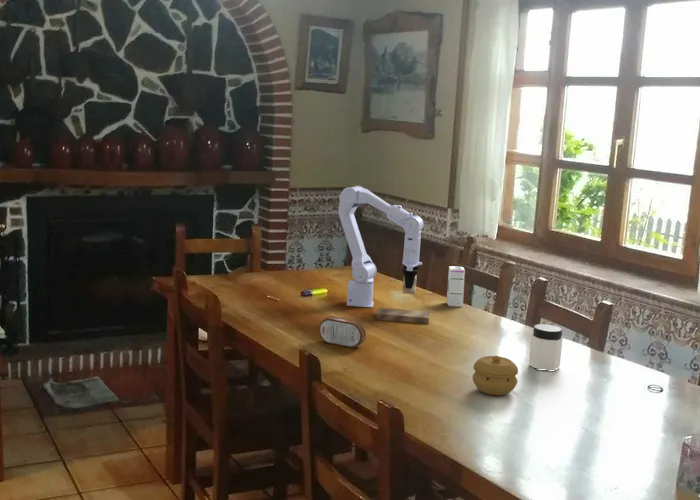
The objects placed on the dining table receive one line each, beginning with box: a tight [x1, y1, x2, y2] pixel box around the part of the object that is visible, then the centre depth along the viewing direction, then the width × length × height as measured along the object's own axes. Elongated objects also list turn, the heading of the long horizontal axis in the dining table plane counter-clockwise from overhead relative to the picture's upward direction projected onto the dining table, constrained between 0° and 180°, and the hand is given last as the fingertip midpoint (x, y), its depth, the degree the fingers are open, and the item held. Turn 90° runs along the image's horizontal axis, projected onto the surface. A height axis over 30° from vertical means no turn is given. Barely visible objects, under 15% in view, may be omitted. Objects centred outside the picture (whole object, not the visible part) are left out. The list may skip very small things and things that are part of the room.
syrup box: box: [446, 265, 466, 308], centre depth 307 cm, size 6×6×14 cm
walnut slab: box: [376, 307, 430, 325], centre depth 284 cm, size 18×9×2 cm, turn 83°
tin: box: [318, 315, 367, 349], centre depth 248 cm, size 15×3×8 cm, turn 65°
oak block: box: [402, 274, 418, 295], centre depth 292 cm, size 4×4×6 cm
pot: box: [472, 355, 519, 396], centre depth 214 cm, size 12×12×10 cm
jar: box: [528, 323, 564, 371], centre depth 237 cm, size 9×8×12 cm
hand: (409, 286), depth 292 cm, fingers closed on oak block, 4 cm apart
